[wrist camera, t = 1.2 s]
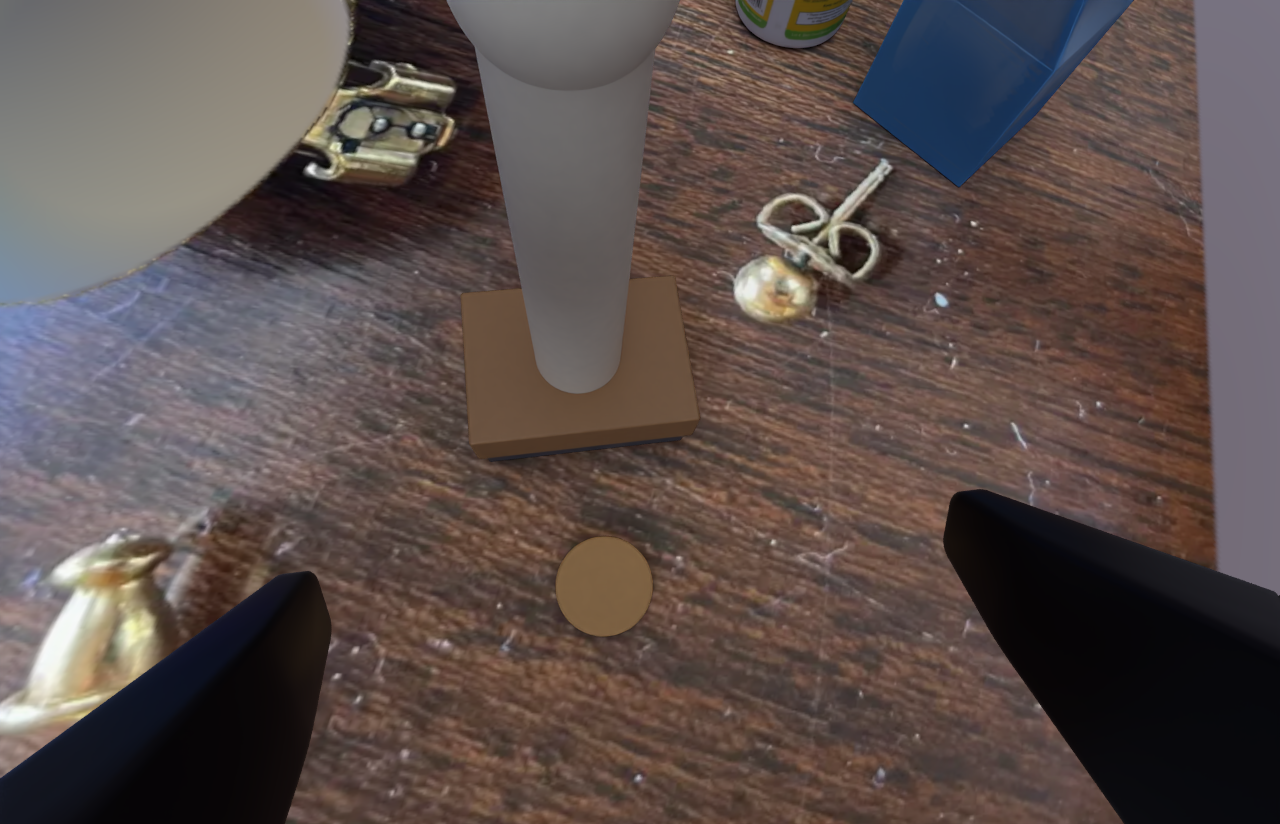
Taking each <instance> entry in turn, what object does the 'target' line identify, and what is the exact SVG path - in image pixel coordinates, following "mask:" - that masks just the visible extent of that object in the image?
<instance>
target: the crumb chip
mask: <svg viewBox="0 0 1280 824" xmlns="http://www.w3.org/2000/svg"><path fill="white" fill-rule="evenodd" d="M555 588H556V597H557V601H558V604H559V607H560V609H561V611H562V613H563V614H564V616H565V617H566V619H567V620H568V621H569V622H570V623H571V624H572V625H573V626H575V627H576V628H577V629H579V630H580V631H582V632H585V633H587V634H590V635H594V636H604V637H606V636H613V635H617V634H620V633H623V632H625V631H627V630H628V629H630V628H632V627H633V626H634V625H635V624H636V623H637V622H638V621H639V620H640V619H641V618H642V617H643V615H644V614H645V612H646V611H647V609H648V607H649V604H650V601H651V598H652V592H653V579H652V574H651V570H650V567H649V565H648V563H647V561H646V559H645V557H644V556H643V555H642V553H641V552H640V551H639V550H638V549H637V548H636V547H634V546H633V545H632V544H630V543H629V542H627V541H625V540H623V539H620V538H617V537H612V536H598V537H593V538H590V539H587V540H585V541H583V542H581V543H579V544H578V545H576V546H575V547H574V548H573V549H571V550H570V551H569V553H568V554H567V555H566V556H565V558H564V559H563V561H562V563H561V565H560V567H559V570H558V573H557V577H556V586H555Z"/></svg>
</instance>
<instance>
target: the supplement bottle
mask: <svg viewBox="0 0 1280 824" xmlns="http://www.w3.org/2000/svg"><path fill="white" fill-rule="evenodd" d="M851 2H852V0H736V7H737V11H738V14H739V16H740V18H741V20H742V22H743V23H744V24H745V26H746V27H747V28H748V29H749V30H750V31H751V32H752V33H753V34H755V35H756V36H757V37H759V38H761V39H763V40H764V41H767V42H769V43H772V44H775V45H778V46H782V47H789V48H806V47H812V46H816V45H819V44H821V43H823V42H825V41H827V40H828V39H830V38H831V37H832V36H833V35H834V34H835V33H836V32H837V31H838V29H839V28H840V26H841V25H842V23H843V21H844V18H845V16H846V14H847V12H848V9H849V7H850V5H851Z"/></svg>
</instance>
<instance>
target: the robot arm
mask: <svg viewBox="0 0 1280 824" xmlns="http://www.w3.org/2000/svg"><path fill="white" fill-rule="evenodd" d="M943 543H944V549H945V552H946V554H947V557H948V558H949V560H950V562H951V564H952V565H953V567H954V569H955V571H956V572H957V574H958V576H959V578H960V580H961V581H962V583H963V585H964V587H965V588H966V590H967V592H968V594H969V595H970V597H971V599H972V601H973V602H974V604H975V606H976V608H977V609H978V611H979V613H980V615H981V617H982V618H983V620H984V622H985V624H986V625H987V627H988V629H989V630H990V632H991V634H992V635H993V637H994V639H995V640H996V642H997V644H998V645H999V647H1000V648H1001V650H1002V651H1003V653H1004V654H1005V655H1006V657H1007V658H1008V660H1009V661H1010V663H1011V664H1012V666H1013V667H1014V668H1015V670H1016V671H1017V673H1018V674H1019V675H1020V677H1021V678H1022V680H1023V681H1024V683H1025V684H1026V685H1027V687H1028V688H1029V690H1030V691H1031V692H1032V694H1033V695H1034V697H1035V698H1036V700H1037V701H1038V702H1039V704H1040V705H1041V707H1042V708H1043V709H1044V711H1045V712H1046V714H1047V715H1048V716H1049V718H1050V719H1051V721H1052V722H1053V724H1054V725H1055V726H1056V728H1057V729H1058V731H1059V732H1060V733H1061V735H1062V736H1063V738H1064V739H1065V741H1066V742H1067V743H1068V745H1069V746H1070V748H1071V749H1072V750H1073V752H1074V753H1075V755H1076V756H1077V758H1078V759H1079V760H1080V762H1081V763H1082V765H1083V766H1084V767H1085V769H1086V770H1087V772H1088V773H1089V775H1090V776H1091V777H1092V779H1093V780H1094V782H1095V783H1096V784H1097V786H1098V787H1099V789H1100V790H1101V792H1102V793H1103V794H1104V796H1105V797H1106V799H1107V800H1108V801H1109V803H1110V804H1111V806H1112V807H1113V808H1114V810H1115V811H1116V813H1117V814H1118V816H1119V817H1120V818H1121V820H1122V821H1123V823H1124V824H1280V595H1279V596H1278V595H1277V594H1276V593H1275V592H1274V591H1271V590H1269V589H1266V588H1263V587H1260V586H1257V585H1254V584H1252V583H1249V582H1246V581H1243V580H1240V579H1237V578H1234V577H1231V576H1229V575H1226V574H1223V573H1220V572H1217V571H1215V570H1212V569H1209V568H1206V567H1203V566H1200V565H1198V564H1195V563H1192V562H1189V561H1186V560H1183V559H1181V558H1178V557H1175V556H1172V555H1169V554H1166V553H1163V552H1161V551H1158V550H1155V549H1152V548H1149V547H1146V546H1144V545H1141V544H1138V543H1135V542H1132V541H1129V540H1127V539H1124V538H1121V537H1118V536H1115V535H1112V534H1109V533H1107V532H1104V531H1101V530H1098V529H1095V528H1092V527H1090V526H1087V525H1084V524H1081V523H1078V522H1075V521H1073V520H1070V519H1067V518H1064V517H1061V516H1058V515H1055V514H1053V513H1050V512H1047V511H1044V510H1041V509H1038V508H1036V507H1033V506H1030V505H1027V504H1024V503H1021V502H1019V501H1016V500H1013V499H1010V498H1007V497H1004V496H1001V495H999V494H996V493H993V492H990V491H987V490H983V489H977V490H969V491H961V492H957V493H956V494H954V495H953V497H952V498H951V501H950V505H949V510H948V516H947V521H946V526H945V532H944V538H943ZM330 639H331V619H330V616H329V613H328V609H327V606H326V603H325V600H324V597H323V594H322V591H321V587H320V584H319V581H318V579H317V577H316V576H315V574H314V573H312V572H310V571H304V572H296V573H287V574H281V575H278V576H277V577H275V578H274V579H272V580H271V581H270V582H268V583H267V584H265V585H264V586H263V587H261V588H260V589H259V590H257V591H256V592H255V593H253V594H252V595H250V596H249V597H248V598H246V599H245V600H244V601H242V602H241V603H240V604H238V605H237V606H235V607H234V608H233V609H231V610H230V611H229V612H227V613H226V614H224V615H223V616H222V617H220V618H219V619H218V620H216V621H215V622H214V623H212V624H211V625H209V626H208V627H207V628H205V629H204V630H203V631H201V632H200V633H198V634H197V635H196V636H194V637H193V638H192V639H190V640H189V641H188V642H186V643H185V644H183V645H182V646H181V647H179V648H178V649H177V650H175V651H174V652H172V653H171V654H170V655H168V656H167V657H166V658H164V659H163V660H162V661H160V662H159V663H157V664H156V665H155V666H153V667H152V668H151V669H149V670H148V671H147V672H145V673H144V674H142V675H141V676H140V677H138V678H137V679H136V680H134V681H133V682H131V683H130V684H129V685H127V686H126V687H125V688H123V689H122V690H121V691H119V692H118V693H116V694H115V695H114V696H112V697H111V698H110V699H108V700H107V701H105V702H104V703H103V704H101V705H100V706H99V707H97V708H96V709H95V710H93V711H92V712H90V713H89V714H88V715H86V716H85V717H84V718H82V719H81V720H79V721H78V722H77V723H75V724H74V725H73V726H71V727H70V728H69V729H67V730H66V731H64V732H63V733H62V734H60V735H59V736H58V737H56V738H55V739H53V740H52V741H51V742H49V743H48V744H47V745H45V746H44V747H43V748H41V749H40V750H38V751H37V752H36V753H34V754H33V755H32V756H30V757H29V758H28V759H26V760H25V761H23V762H22V763H21V764H19V765H18V766H17V767H15V768H14V769H12V770H11V771H10V772H8V773H7V774H6V775H4V776H3V777H2V778H0V824H285V821H286V818H287V815H288V812H289V809H290V806H291V802H292V799H293V796H294V793H295V790H296V787H297V784H298V780H299V777H300V774H301V771H302V768H303V765H304V761H305V758H306V754H307V751H308V747H309V743H310V739H311V734H312V730H313V725H314V720H315V715H316V710H317V705H318V700H319V695H320V690H321V685H322V680H323V675H324V670H325V665H326V659H327V654H328V649H329V644H330Z"/></svg>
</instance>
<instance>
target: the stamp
mask: <svg viewBox="0 0 1280 824" xmlns="http://www.w3.org/2000/svg"><path fill="white" fill-rule="evenodd" d="M679 1H680V0H447V2H448V4H449V7H450V9H451V11H452V13H453V15H454V17H455V19H456V20H457V22H458V24H459V25H460V27H461V28H462V30H463V32H464V33H465V35H466V36H467V37H468V39H469V40H470V41H471V42H472V44H473V45H474V46H475V50H476V55H477V61H478V66H479V71H480V76H481V81H482V86H483V91H484V97H485V102H486V107H487V112H488V117H489V122H490V127H491V133H492V138H493V143H494V148H495V153H496V158H497V164H498V169H499V174H500V179H501V184H502V189H503V194H504V200H505V205H506V210H507V215H508V220H509V225H510V230H511V236H512V241H513V246H514V251H515V256H516V261H517V266H518V272H519V277H520V282H521V287H522V288H517V289H505V290H493V291H481V292H470V293H462V294H461V313H462V330H463V348H464V365H465V382H466V399H467V417H468V434H469V444H470V446H471V447H472V449H473V451H474V452H475V454H476V455H477V457H478V458H479V459H485V458H488V460H489V461H491V462H493V461H501V460H510V459H519V458H528V457H536V456H545V455H554V454H563V453H571V452H580V451H589V450H598V449H606V448H615V447H624V446H633V445H641V444H650V443H659V442H668V441H676V440H681V439H682V437H683V436H687V435H692V434H693V432H694V430H695V428H696V426H697V424H698V422H699V420H700V413H699V407H698V402H697V396H696V391H695V385H694V379H693V374H692V368H691V363H690V357H689V351H688V346H687V340H686V334H685V329H684V323H683V318H682V312H681V306H680V301H679V295H678V290H677V284H676V278H675V276H673V275H671V276H659V277H647V278H635V279H629V277H630V268H631V259H632V250H633V242H634V233H635V224H636V215H637V206H638V197H639V188H640V179H641V170H642V161H643V153H644V144H645V135H646V126H647V117H648V108H649V99H650V90H651V81H652V72H653V63H654V55H655V48H656V47H657V46H658V44H659V43H660V41H661V40H662V38H663V36H664V35H665V33H666V31H667V29H668V28H669V26H670V24H671V22H672V19H673V17H674V15H675V12H676V9H677V7H678V4H679Z"/></svg>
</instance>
